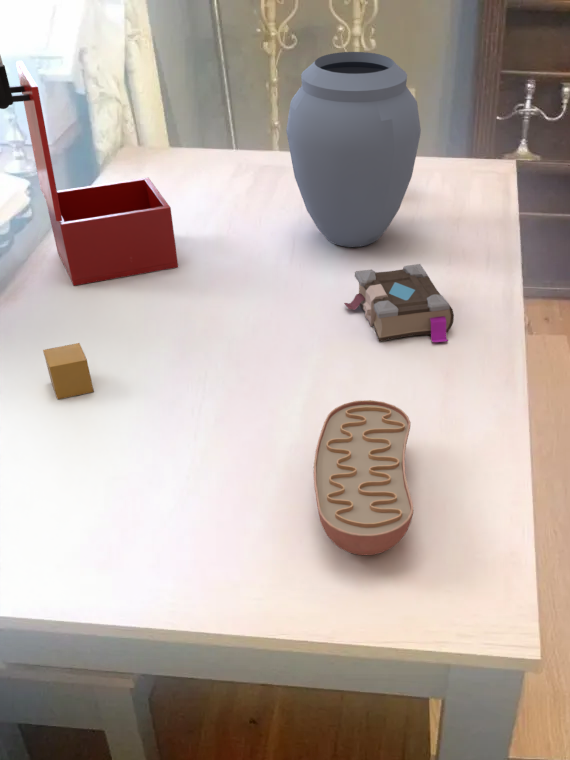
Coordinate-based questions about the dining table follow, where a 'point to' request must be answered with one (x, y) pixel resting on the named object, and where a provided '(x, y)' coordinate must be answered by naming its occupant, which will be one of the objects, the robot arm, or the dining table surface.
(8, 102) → the robot arm
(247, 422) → the dining table surface
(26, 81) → the red box lid
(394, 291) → the book
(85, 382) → the brass block
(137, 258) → the red open box
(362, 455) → the anatomical model
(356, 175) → the vase
